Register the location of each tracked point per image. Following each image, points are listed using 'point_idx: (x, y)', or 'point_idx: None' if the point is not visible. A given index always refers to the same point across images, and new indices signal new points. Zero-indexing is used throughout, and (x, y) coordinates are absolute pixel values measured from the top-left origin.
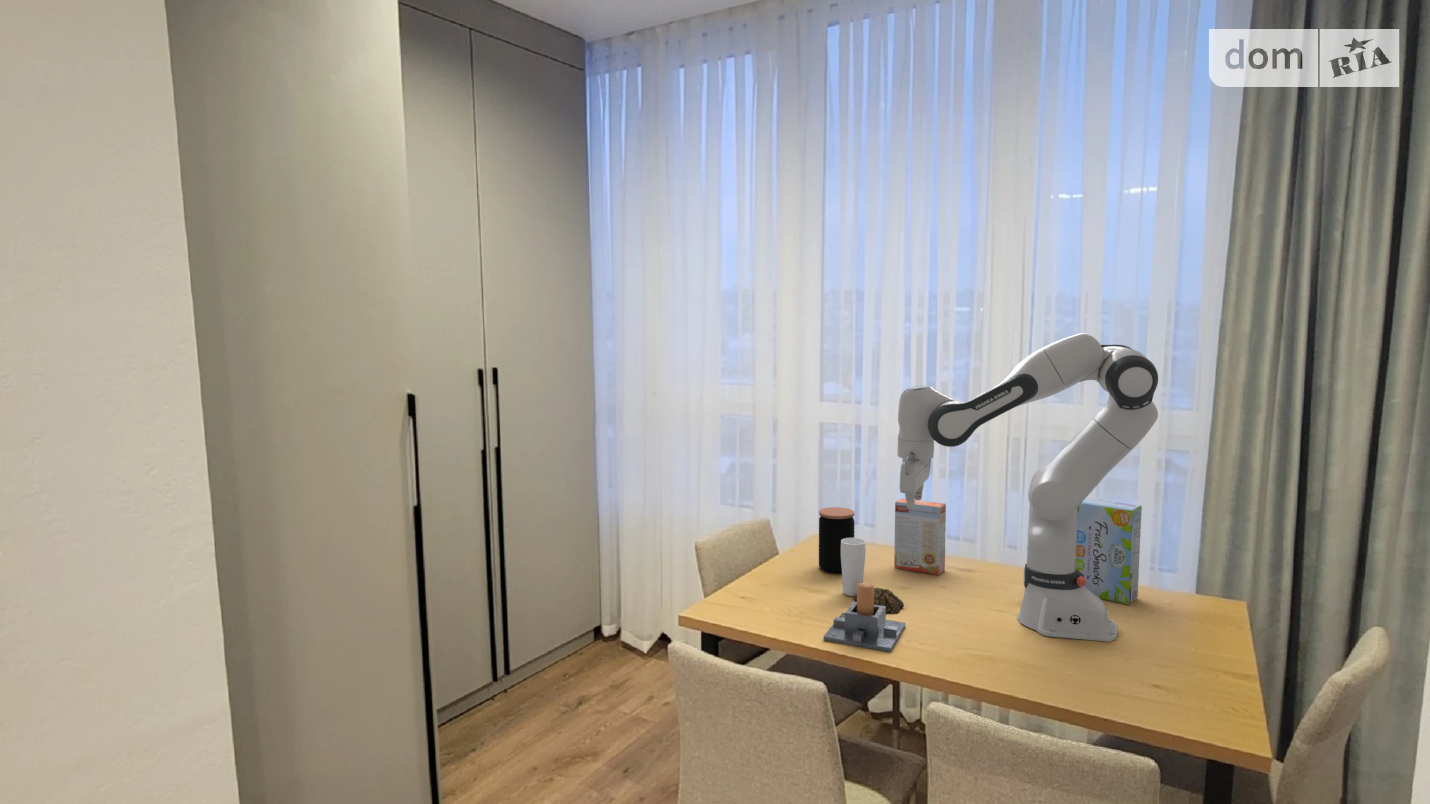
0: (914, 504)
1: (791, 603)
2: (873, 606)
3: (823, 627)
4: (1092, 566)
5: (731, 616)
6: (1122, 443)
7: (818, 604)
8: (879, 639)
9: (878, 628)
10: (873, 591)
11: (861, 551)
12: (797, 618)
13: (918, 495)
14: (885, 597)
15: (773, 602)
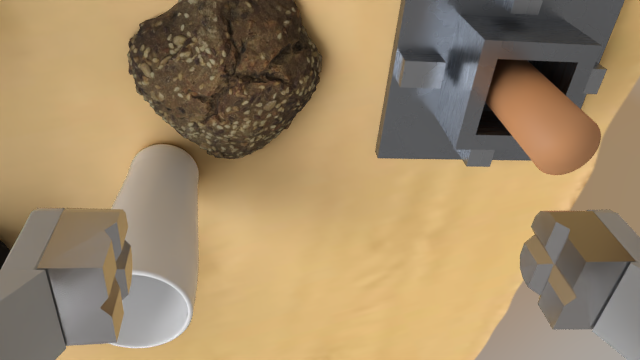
0: (587, 229)
1: (320, 281)
2: (541, 80)
3: (466, 175)
4: None
5: (440, 348)
6: None
7: (302, 227)
8: (572, 13)
9: (570, 30)
10: (573, 107)
11: (167, 251)
12: (419, 242)
13: (112, 274)
14: (273, 60)
15: (328, 313)
